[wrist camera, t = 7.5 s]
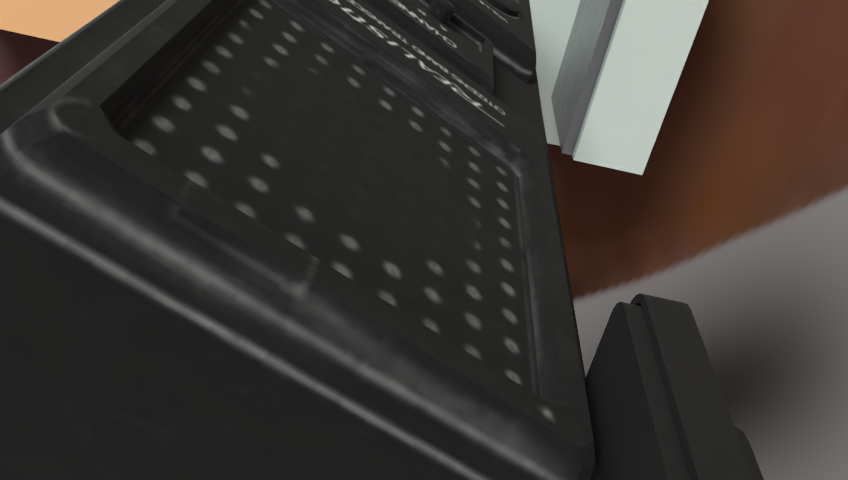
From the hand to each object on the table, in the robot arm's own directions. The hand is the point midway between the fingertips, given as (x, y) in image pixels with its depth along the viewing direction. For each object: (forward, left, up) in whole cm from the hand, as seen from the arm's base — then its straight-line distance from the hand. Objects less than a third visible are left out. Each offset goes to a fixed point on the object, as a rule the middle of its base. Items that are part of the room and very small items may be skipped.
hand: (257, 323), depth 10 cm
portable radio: (0, 0, -20) cm, 20 cm away
